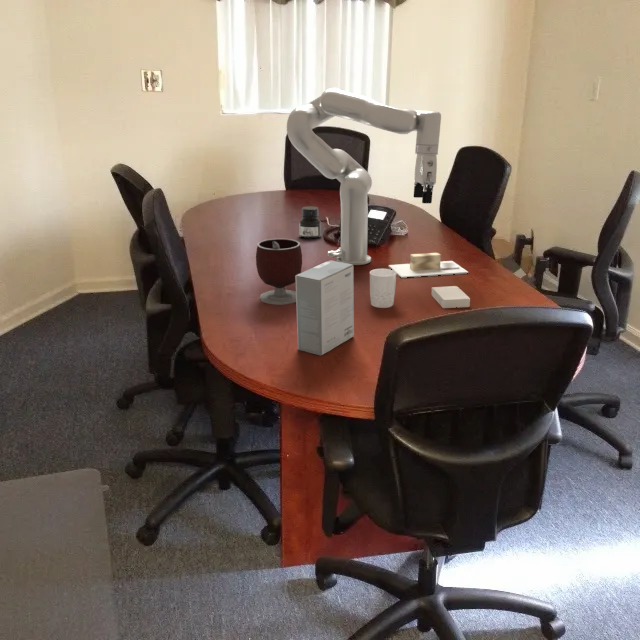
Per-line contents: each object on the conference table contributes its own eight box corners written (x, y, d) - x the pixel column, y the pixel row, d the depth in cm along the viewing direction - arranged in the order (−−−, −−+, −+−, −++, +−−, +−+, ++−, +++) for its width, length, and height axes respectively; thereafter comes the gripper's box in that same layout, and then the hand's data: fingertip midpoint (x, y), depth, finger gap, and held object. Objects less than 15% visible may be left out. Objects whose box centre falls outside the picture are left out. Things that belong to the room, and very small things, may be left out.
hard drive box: (330, 330, 181) (330, 259, 174) (354, 336, 177) (355, 264, 170) (296, 349, 169) (294, 274, 162) (321, 356, 165) (320, 279, 158)
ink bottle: (295, 238, 276) (294, 209, 272) (303, 233, 284) (303, 205, 279) (317, 240, 273) (316, 211, 268) (325, 235, 280) (325, 206, 276)
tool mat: (401, 278, 224) (401, 276, 224) (388, 266, 237) (388, 265, 237) (468, 273, 229) (468, 271, 229) (452, 262, 242) (452, 260, 242)
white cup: (367, 300, 204) (367, 268, 200) (392, 299, 205) (393, 268, 201) (371, 309, 197) (371, 276, 193) (397, 308, 197) (398, 275, 194)
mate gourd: (262, 290, 214) (259, 228, 206) (305, 291, 212) (304, 229, 205) (252, 306, 199) (249, 240, 192) (298, 308, 198) (297, 242, 191)
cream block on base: (414, 272, 229) (414, 257, 227) (408, 267, 235) (408, 253, 233) (459, 268, 233) (460, 254, 231) (452, 264, 238) (453, 250, 236)
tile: (431, 296, 209) (443, 309, 198) (431, 287, 208) (443, 299, 197) (456, 295, 210) (469, 308, 199) (456, 286, 209) (470, 298, 198)
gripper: (446, 153, 218) (441, 205, 224) (429, 146, 233) (424, 195, 240) (423, 152, 216) (419, 205, 223) (408, 145, 232) (404, 195, 238)
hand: (422, 200), depth 231 cm, fingers open, 9 cm apart
